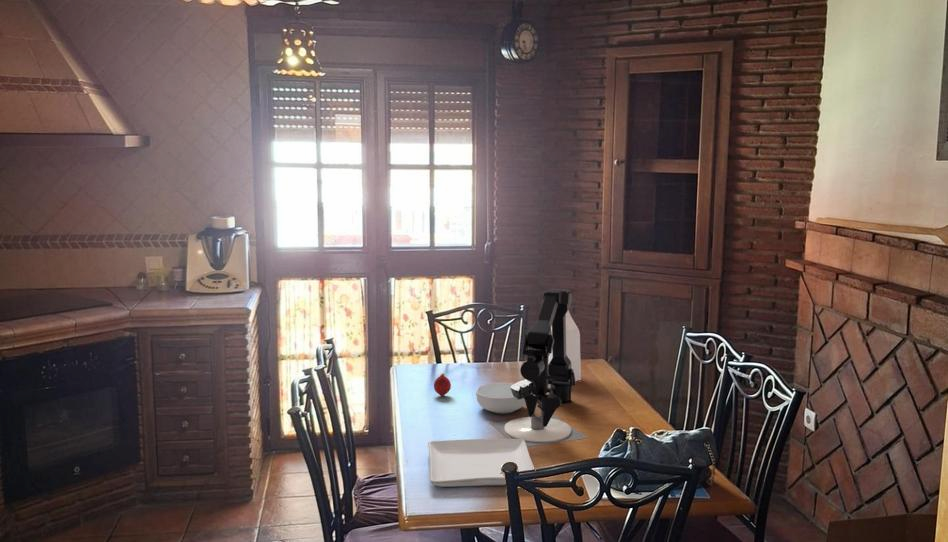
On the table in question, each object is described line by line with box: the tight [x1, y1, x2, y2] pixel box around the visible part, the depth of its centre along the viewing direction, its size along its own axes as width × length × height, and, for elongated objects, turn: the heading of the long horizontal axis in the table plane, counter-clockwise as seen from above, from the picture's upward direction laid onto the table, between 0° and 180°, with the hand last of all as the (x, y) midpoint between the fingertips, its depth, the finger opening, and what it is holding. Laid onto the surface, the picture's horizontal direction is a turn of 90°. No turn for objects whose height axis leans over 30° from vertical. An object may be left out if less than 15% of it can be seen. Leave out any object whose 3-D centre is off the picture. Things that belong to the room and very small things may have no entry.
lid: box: [504, 414, 572, 442], centre depth 247 cm, size 20×20×4 cm
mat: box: [489, 414, 588, 448], centre depth 247 cm, size 22×22×1 cm
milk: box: [548, 309, 582, 381], centre depth 300 cm, size 12×12×26 cm
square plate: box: [427, 438, 536, 488], centre depth 218 cm, size 27×27×4 cm
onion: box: [433, 372, 452, 397], centre depth 280 cm, size 6×6×8 cm
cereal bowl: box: [475, 382, 526, 414], centre depth 266 cm, size 17×17×7 cm
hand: (537, 421), depth 247 cm, fingers open, 9 cm apart
